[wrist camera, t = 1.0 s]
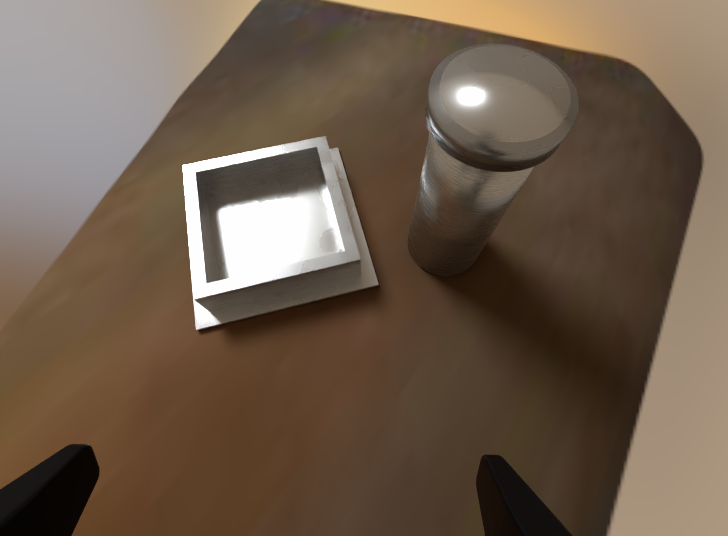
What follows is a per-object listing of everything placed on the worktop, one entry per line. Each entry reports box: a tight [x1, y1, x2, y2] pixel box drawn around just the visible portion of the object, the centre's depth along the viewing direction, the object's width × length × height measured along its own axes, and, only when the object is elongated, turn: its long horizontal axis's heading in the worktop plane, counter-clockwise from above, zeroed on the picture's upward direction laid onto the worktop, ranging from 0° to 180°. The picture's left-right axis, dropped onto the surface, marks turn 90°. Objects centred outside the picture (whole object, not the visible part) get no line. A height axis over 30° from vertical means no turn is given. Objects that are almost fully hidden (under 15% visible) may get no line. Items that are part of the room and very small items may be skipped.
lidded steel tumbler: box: [408, 44, 579, 276], centre depth 21 cm, size 6×6×13 cm
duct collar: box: [183, 136, 379, 331], centre depth 26 cm, size 12×12×3 cm
